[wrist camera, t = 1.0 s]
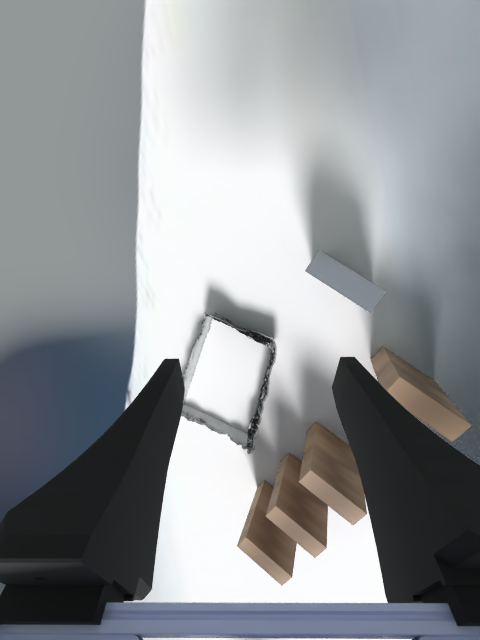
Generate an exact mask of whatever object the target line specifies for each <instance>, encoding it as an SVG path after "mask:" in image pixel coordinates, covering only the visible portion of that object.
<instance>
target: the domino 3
mask: <svg viewBox="0 0 480 640" xmlns="http://www.w3.org/2000/svg"><path fill="white" fill-rule="evenodd" d="M305 271H306V272H307V273H309V274H311V275H312V276H314V277H315V278H317V279H318V280H320V281H322V282H323V283H325V284H326V285H328V286H329V287H331V288H332V289H334V290H336V291H337V292H339V293H340V294H342V295H343V296H345V297H347V298H348V299H350V300H351V301H353V302H354V303H356V304H357V305H359V306H361V307H362V308H364V309H365V310H367V311H368V312H371V311H372V310H373V308H374V307H375V306H376V305H377V303H378V302H379V301H380V300H381V299H382V297H383V296H384V295H385V294H386V291H384V290H383V289H381V288H380V287H378V286H376V285H375V284H373V283H372V282H370V281H368V280H367V279H365V278H363V277H362V276H360V275H359V274H357V273H355V272H354V271H352V270H351V269H349V268H347V267H346V266H344V265H342V264H341V263H339V262H338V261H336V260H334V259H333V258H331V257H330V256H328V255H326V254H325V253H323V252H321V251H320V250H319V251H318V252H317V254H316V255H315V257H314V258H313V260H312V261H311V263H310V264H309V266H308V267H307V268H306V270H305Z"/></svg>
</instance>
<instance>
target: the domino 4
mask: <svg viewBox="0 0 480 640" xmlns="http://www.w3.org/2000/svg"><path fill="white" fill-rule="evenodd" d="M299 483H301V484H302V485H303V486H304V487H306V488H307V489H308V490H309V491H311V492H312V493H313V494H314V495H316V496H317V497H318V498H319V499H321V500H322V501H323V502H324V503H326V504H327V505H328V506H329V507H331V508H332V509H333V510H334V511H336V512H337V513H338V514H339V515H341V516H342V517H343V518H344V519H346V520H347V521H348V522H350V523H351V524H352V525H354V524H356V523H357V522H358V521H359V520H360V519H361V518H363V517H364V516H365V515H366V514H367V511H366V503H365V495H364V490H363V486H362V482H361V478H360V474H359V471H358V467H357V464H356V461H355V458H354V455H353V452H352V450H351V447H350V446H349V445H347V444H346V443H345V442H343V441H342V440H341V439H339V438H338V437H336V436H335V435H334V434H332V433H331V432H330V431H328V430H327V429H326V428H324V427H323V426H322V425H320V424H319V423H318V422H315V423H314V424H313V426H312V427H311V428H310V429H309V430H308V431H307V435H306V441H305V447H304V453H303V459H302V465H301V471H300V477H299Z"/></svg>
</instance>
